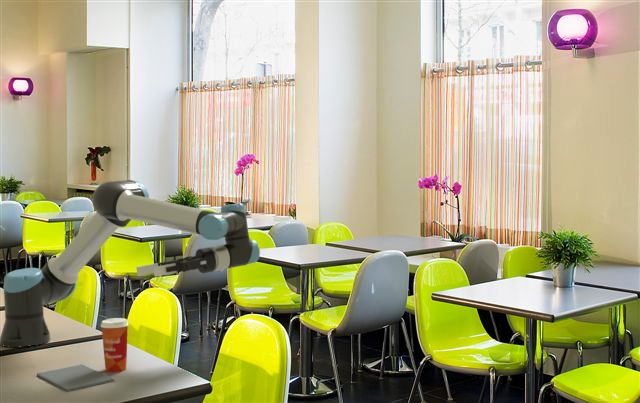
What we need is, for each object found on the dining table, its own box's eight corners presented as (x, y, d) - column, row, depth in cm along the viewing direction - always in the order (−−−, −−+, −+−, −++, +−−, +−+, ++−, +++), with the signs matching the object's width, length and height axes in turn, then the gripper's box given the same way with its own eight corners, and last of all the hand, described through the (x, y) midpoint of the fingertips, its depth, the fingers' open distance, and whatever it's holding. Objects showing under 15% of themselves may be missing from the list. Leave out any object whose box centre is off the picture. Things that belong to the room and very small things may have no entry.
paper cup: (95, 371, 215) (94, 321, 214) (115, 364, 222) (113, 316, 221) (117, 374, 212) (115, 324, 211) (136, 367, 218) (134, 318, 218)
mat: (37, 375, 212) (36, 373, 212) (82, 366, 221) (81, 364, 221) (67, 391, 197) (67, 389, 197) (114, 381, 206) (114, 378, 206)
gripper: (232, 271, 225) (163, 285, 213) (196, 271, 246) (132, 283, 234) (228, 246, 225) (159, 258, 213) (192, 247, 246) (128, 259, 234)
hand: (145, 271), depth 224 cm, fingers open, 13 cm apart
